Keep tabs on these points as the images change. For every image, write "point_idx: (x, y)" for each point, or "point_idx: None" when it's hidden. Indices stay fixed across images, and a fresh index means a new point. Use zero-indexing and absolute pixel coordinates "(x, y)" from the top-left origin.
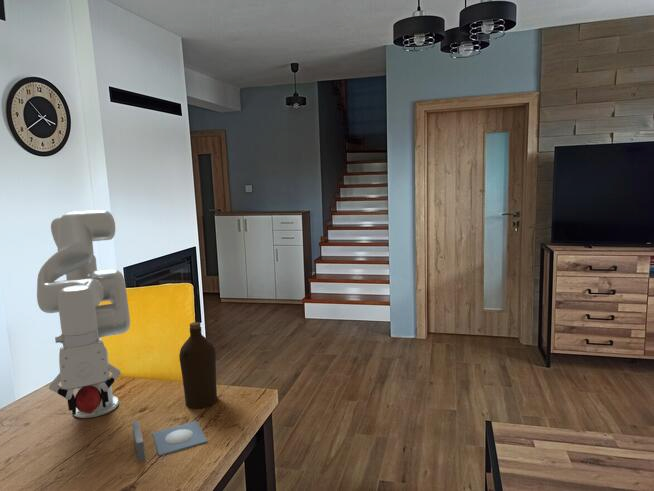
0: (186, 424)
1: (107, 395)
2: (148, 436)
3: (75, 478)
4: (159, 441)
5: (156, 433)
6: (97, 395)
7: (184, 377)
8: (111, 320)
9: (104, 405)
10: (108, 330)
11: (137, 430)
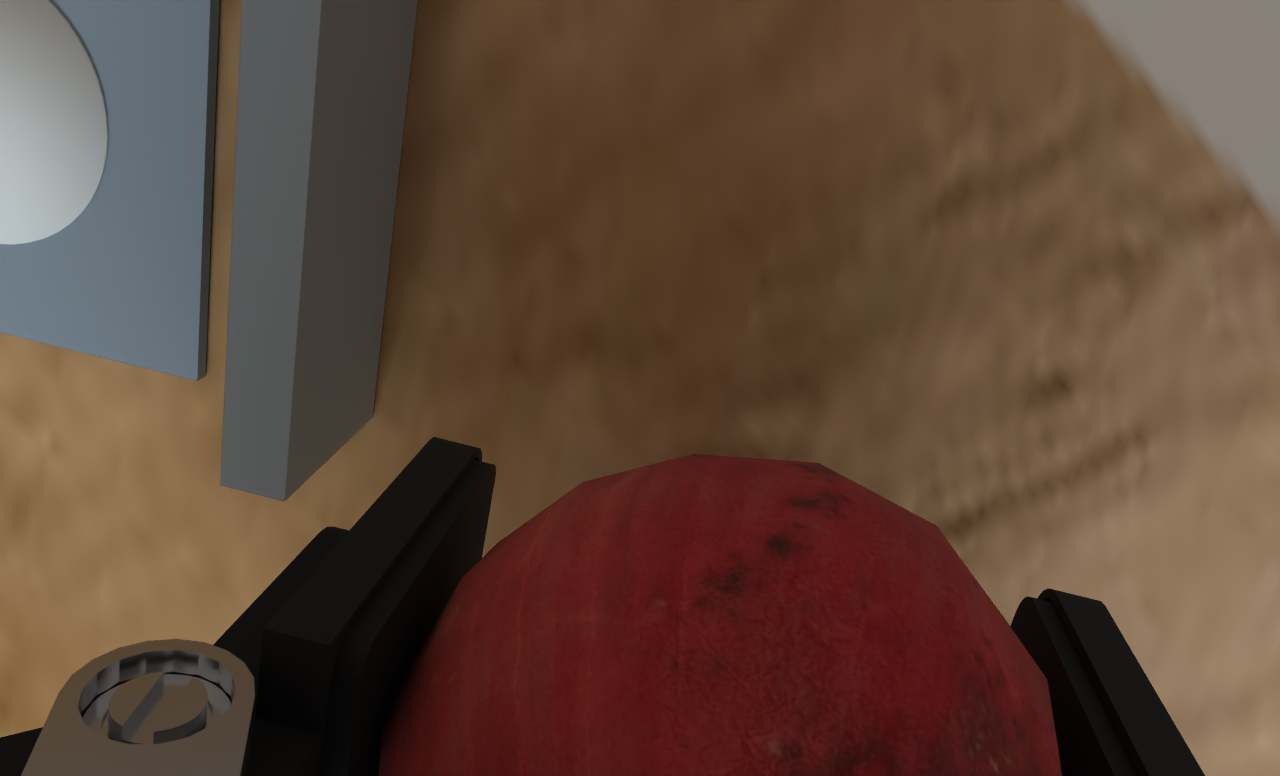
0: None
1: (267, 602)
2: None
3: (1011, 121)
4: (164, 162)
5: (165, 337)
6: (486, 642)
7: None
8: None
9: (449, 454)
10: None
11: (262, 248)
